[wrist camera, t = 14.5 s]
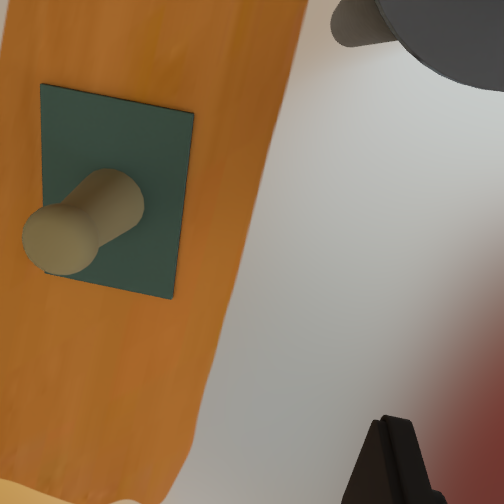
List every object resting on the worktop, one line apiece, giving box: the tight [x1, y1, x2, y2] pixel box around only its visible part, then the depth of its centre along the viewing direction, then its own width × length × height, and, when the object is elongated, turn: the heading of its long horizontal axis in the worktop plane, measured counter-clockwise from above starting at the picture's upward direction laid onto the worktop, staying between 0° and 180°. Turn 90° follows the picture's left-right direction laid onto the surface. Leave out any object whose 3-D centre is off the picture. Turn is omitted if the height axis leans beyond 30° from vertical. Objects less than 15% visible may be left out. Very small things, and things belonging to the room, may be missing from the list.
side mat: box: [40, 84, 194, 300], centre depth 41 cm, size 13×18×1 cm
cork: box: [22, 168, 144, 275], centre depth 35 cm, size 6×6×11 cm
